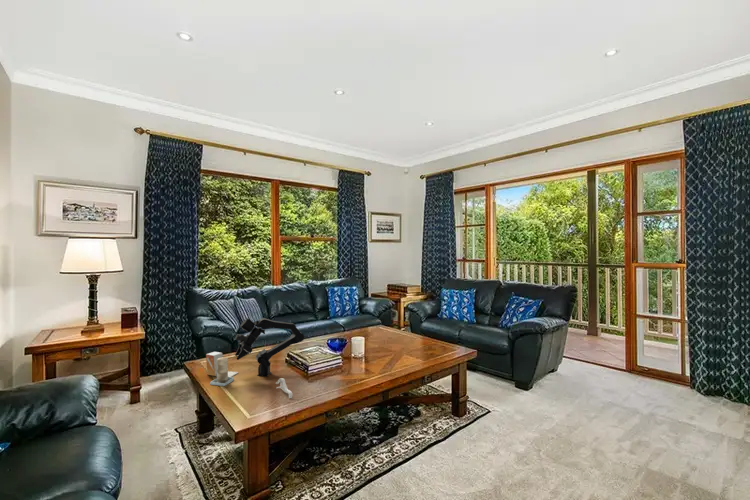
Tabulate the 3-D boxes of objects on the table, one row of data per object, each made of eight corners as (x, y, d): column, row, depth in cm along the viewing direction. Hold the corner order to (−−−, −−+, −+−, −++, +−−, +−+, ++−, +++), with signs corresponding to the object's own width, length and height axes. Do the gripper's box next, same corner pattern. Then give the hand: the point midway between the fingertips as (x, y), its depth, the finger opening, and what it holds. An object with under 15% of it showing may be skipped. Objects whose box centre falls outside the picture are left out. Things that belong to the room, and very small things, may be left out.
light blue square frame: (234, 380, 215) (234, 377, 215) (224, 386, 206) (224, 383, 206) (220, 378, 217) (220, 376, 217) (210, 384, 207) (210, 382, 207)
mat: (238, 373, 226) (238, 372, 226) (229, 378, 218) (229, 377, 218) (225, 371, 228) (225, 371, 228) (216, 377, 219) (216, 376, 219)
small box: (206, 374, 223) (205, 354, 223) (215, 371, 228) (214, 351, 228) (214, 376, 219) (213, 355, 219) (224, 373, 224) (222, 352, 224)
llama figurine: (277, 400, 202) (290, 398, 188) (274, 380, 205) (286, 376, 192) (280, 399, 203) (293, 397, 190) (277, 379, 206) (290, 375, 193)
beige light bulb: (229, 380, 214) (230, 357, 213) (223, 384, 208) (223, 360, 208) (220, 380, 215) (221, 357, 215) (214, 383, 209) (214, 360, 209)
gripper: (241, 326, 227) (224, 347, 222) (244, 331, 210) (226, 353, 205) (255, 336, 230) (238, 356, 225) (259, 341, 214) (242, 364, 209)
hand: (236, 357), depth 216 cm, fingers open, 9 cm apart
